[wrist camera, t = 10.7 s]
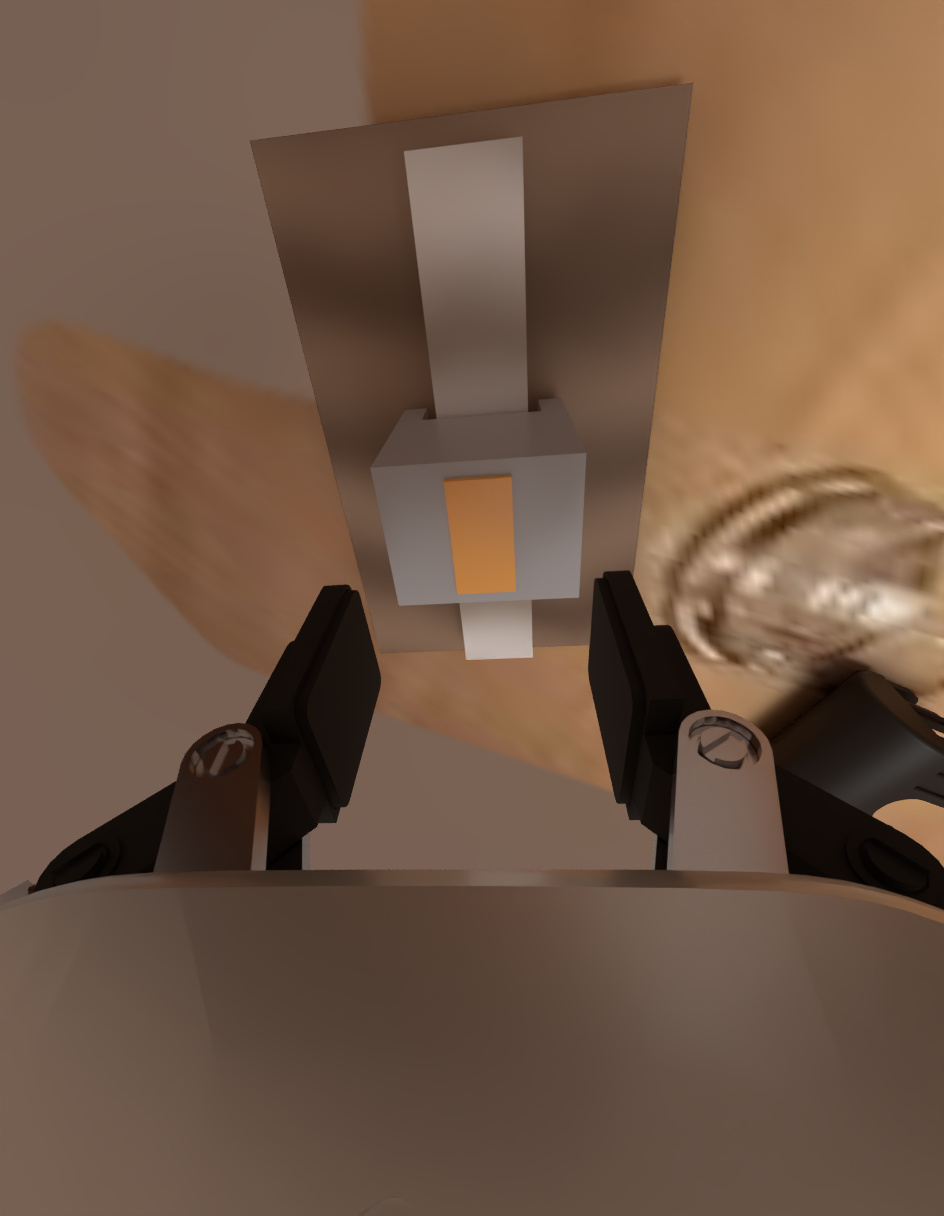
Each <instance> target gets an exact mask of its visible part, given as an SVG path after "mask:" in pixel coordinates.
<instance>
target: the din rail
mask: <svg viewBox="0 0 944 1216" xmlns="http://www.w3.org/2000/svg"><path fill="white" fill-rule="evenodd" d="M692 87H693V83H687V84H679V85H672V86H664V87H656V88H649V89H641V90H634V91H626V92H618V93H611V94H603V95H595V96H588V97H580V98H573V99H565V100H557V101H550V102H542V103H534V104H527V105H519V106H511V107H504V108H496V109H489V110H481V111H473V112H466V113H458V114H450V115H443V116H435V117H428V118H420V119H412V120H405V121H397V122H389V123H382V124H374V125H366V126H359V127H352V128H344V129H336V130H329V131H321V132H313V133H306V134H298V135H290V136H283V137H275V138H267V139H260V140H252V141H250V143H251V147H252V151H253V155H254V159H255V163H256V166H257V171H258V175H259V179H260V183H261V186H262V190H263V194H264V198H265V202H266V206H267V210H268V214H269V218H270V222H271V226H272V230H273V233H274V238H275V242H276V245H277V249H278V253H279V257H280V261H281V264H282V269H283V273H284V276H285V280H286V285H287V288H288V293H289V297H290V300H291V304H292V308H293V312H294V316H295V320H296V324H297V328H298V332H299V336H300V340H301V344H302V347H303V352H304V355H305V359H306V363H307V367H308V371H309V375H310V379H311V383H312V387H313V391H314V395H315V399H316V403H317V407H318V410H319V414H320V418H321V422H322V426H323V430H324V434H325V438H326V442H327V446H328V450H329V454H330V458H331V462H332V465H333V469H334V473H335V477H336V481H337V485H338V489H339V493H340V497H341V501H342V505H343V509H344V513H345V517H346V520H347V524H348V528H349V532H350V536H351V540H352V544H353V548H354V552H355V556H356V560H357V564H358V568H359V571H360V575H361V579H362V583H363V587H364V591H365V595H366V599H367V603H368V607H369V611H370V615H371V619H372V623H373V626H374V630H375V634H376V638H377V642H378V646H379V650H380V653H400V652H425V651H451V650H465V653H466V660H475V659H502V658H528V657H533V648H532V647H552V646H578V645H590V633H591V618H592V604H593V589H594V580H595V578H602V577H603V573H604V571H623V570H629V571H630V572H631V574H632V576H633V573H634V565H635V557H636V549H637V540H638V532H639V524H640V516H641V507H642V499H643V491H644V483H645V475H646V466H647V458H648V450H649V442H650V433H651V425H652V417H653V409H654V400H655V392H656V384H657V376H658V367H659V359H660V351H661V343H662V334H663V326H664V318H665V310H666V302H667V293H668V285H669V277H670V269H671V260H672V252H673V244H674V236H675V227H676V219H677V211H678V203H679V194H680V186H681V178H682V170H683V161H684V153H685V145H686V137H687V129H688V120H689V112H690V104H691V96H692ZM552 398H561V399H562V401H563V403H564V405H565V408H566V410H567V412H568V414H569V416H570V418H571V421H572V423H573V425H574V427H575V429H576V431H577V434H578V436H579V438H580V440H581V442H582V444H583V447H584V449H585V451H586V470H585V490H584V509H583V529H582V548H581V568H580V587H579V598H559V599H537V600H515V601H493V602H471V603H448V604H426V605H404V606H399V604H398V599H397V594H396V589H395V585H394V580H393V575H392V570H391V565H390V561H389V556H388V551H387V546H386V541H385V536H384V532H383V527H382V522H381V517H380V512H379V507H378V503H377V498H376V493H375V488H374V483H373V479H372V474H371V469H370V467H371V466H372V464H373V463H374V461H375V459H376V458H377V456H378V454H379V453H380V451H381V449H382V448H383V446H384V444H385V443H386V441H387V439H388V438H389V436H390V434H391V433H392V431H393V429H394V428H395V426H396V424H397V423H398V421H399V419H400V418H401V416H402V414H403V413H404V411H405V410H411V409H424V408H427V413H428V420H430V419H443V418H456V417H469V416H482V415H495V414H508V413H522V412H535V411H538V400H539V399H552Z"/></svg>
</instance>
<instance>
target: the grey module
mask: <svg viewBox="0 0 944 1216" xmlns="http://www.w3.org/2000/svg"><path fill="white" fill-rule="evenodd" d="M370 469H371V474H372V479H373V483H374V488H375V493H376V498H377V503H378V507H379V512H380V517H381V522H382V527H383V532H384V536H385V541H386V546H387V551H388V556H389V561H390V565H391V570H392V575H393V580H394V585H395V589H396V594H397V599H398V604H399V606H404V605H426V604H448V603H471V602H493V601H515V600H537V599H559V598H579V587H580V568H581V548H582V529H583V509H584V490H585V470H586V451H585V449H584V447H583V444H582V442H581V440H580V438H579V436H578V434H577V431H576V429H575V427H574V425H573V423H572V421H571V418H570V416H569V414H568V412H567V410H566V408H565V405H564V403H563V401H562V399H561V398H552V399H539V400H538V411H535V412H522V413H508V414H495V415H482V416H469V417H456V418H443V419H430V420H428V413H427V408H424V409H411V410H405V411H404V413H403V414H402V416H401V418H400V419H399V421H398V423H397V424H396V426H395V428H394V429H393V431H392V433H391V434H390V436H389V438H388V439H387V441H386V443H385V444H384V446H383V448H382V449H381V451H380V453H379V454H378V456H377V458H376V459H375V461H374V463H373V464H372V466H371V467H370Z"/></svg>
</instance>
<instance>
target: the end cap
mask: <svg viewBox="0 0 944 1216" xmlns="http://www.w3.org/2000/svg"><path fill="white" fill-rule="evenodd" d="M917 702H918V698H917V697H916V696H915V695H914V694H913V693H912V692H911V691H910V690H909V689H907V688H904V687H902V686H900V685H897V684H895V683H892V682H890V681H888V680H886V679H885V678H884V677H883V676H882V675H880V674H877V673H874V672H870V671H861V670H860V671H858V672H856V673H854V674H853V675H852V676H851V677H849V678H848V679H847V680H846V681H844V682H843V683H842V684H841V685H839V686H838V687H837V688H836V689H835V690H833V691H832V692H831V693H830V694H828V695H827V696H826V697H825V698H823V699H822V700H821V701H820V702H818V703H817V704H816V705H815V706H814V707H812V708H811V709H810V710H809V711H807V712H806V713H805V714H804V715H802V716H801V717H800V718H799V719H797V720H796V721H795V722H794V723H793V724H791V725H790V726H789V727H788V728H786V729H785V730H784V731H783V732H781V733H780V734H779V735H778V736H776V737H775V738H774V739H773V740H771V741H770V742H769V743H770V746H771V749H772V751H773V759H774V764H776V765H778V766H780V767H782V768H784V769H786V770H787V771H789V772H791V773H793V774H795V775H797V776H798V777H800V778H802V779H804V780H806V781H808V782H809V783H811V784H813V785H815V786H817V787H819V788H821V789H822V790H824V791H826V792H828V793H830V794H832V795H833V796H835V797H837V798H839V799H841V800H843V801H844V802H846V803H848V804H850V805H852V806H854V807H856V808H857V809H859V810H861V811H863V812H865V813H867V814H868V815H870V816H872V815H873V814H874V813H875V812H876V811H877V810H878V809H880V808H882V807H883V806H885V805H887V804H889V803H892V802H895V801H899V800H905V799H919V800H923V801H926V802H929V803H932V804H934V805H937V806H940V807H943V808H944V738H943V737H940V736H938V735H937V734H936V733H935V732H934V731H933V730H932V729H934V730H936V731H939V732H941V733H944V718H942V717H940V716H939V715H937V714H936V713H934V712H932V711H929V710H927V709H925V708H922V707H920V706H917V705H915V704H916V703H917ZM889 826H890V825H889ZM891 827H892V826H891ZM892 828H893V827H892Z"/></svg>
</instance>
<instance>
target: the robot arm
mask: <svg viewBox="0 0 944 1216" xmlns="http://www.w3.org/2000/svg"><path fill="white" fill-rule="evenodd" d="M588 673H589V681H590V686H591V690H592V695H593V700H594V704H595V709H596V713H597V718H598V722H599V727H600V731H601V736H602V741H603V745H604V750H605V754H606V759H607V763H608V768H609V773H610V777H611V782H612V786H613V791H614V795H615V799H616V802H617V803H618V804H626V807H627V812H628V816H629V820H640V821H641V824H642V825H644V826H645V827H647V828H648V829H649V830H651V831H652V832H653V833H655V839H654V851H653V864H652V870H539V869H536V870H532V869H531V870H530V869H525V870H524V869H519V870H518V869H516V870H515V869H506V870H505V869H500V870H499V869H495V870H494V869H492V870H491V869H490V870H489V869H485V870H484V869H481V870H480V869H479V870H476V869H475V870H474V869H471V870H470V869H467V870H465V869H464V870H463V869H462V870H310V834H309V832H310V831H312V830H313V829H314V828H316V827H317V825H318V823H336V822H337V818H338V815H339V811H340V808H341V807H346V806H347V805H348V803H349V801H350V797H351V793H352V790H353V786H354V782H355V779H356V775H357V771H358V768H359V764H360V760H361V757H362V753H363V749H364V746H365V742H366V738H367V734H368V731H369V727H370V723H371V720H372V716H373V712H374V709H375V705H376V701H377V698H378V694H379V690H380V686H381V675H380V670H379V666H378V663H377V659H376V655H375V651H374V647H373V644H372V640H371V636H370V632H369V628H368V625H367V621H366V617H365V613H364V609H363V606H362V602H361V598H360V595H359V592H358V591H357V590H351V588H350V586H349V585H332V586H324V587H323V588H322V590H321V591H320V593H319V595H318V597H317V599H316V601H315V603H314V605H313V607H312V608H311V610H310V612H309V614H308V616H307V618H306V620H305V622H304V624H303V625H302V627H301V629H300V631H299V633H298V635H297V637H296V639H295V641H292V642H290V643H289V644H288V646H287V647H286V649H285V651H284V653H283V655H282V656H281V658H280V660H279V662H278V664H277V666H276V667H275V669H274V671H273V673H272V675H271V677H270V679H269V680H268V682H267V684H266V686H265V688H264V690H263V692H262V694H261V695H260V697H259V699H258V701H257V703H256V705H255V706H254V708H253V710H252V712H251V714H250V716H249V718H248V719H247V721H246V723H234V724H227V725H225V726H221V727H219V728H216V729H214V730H212V731H210V732H209V733H207V734H205V735H203V736H202V737H201V738H200V739H198V740H197V741H196V742H195V743H194V744H193V745H192V746H191V747H190V748H189V750H188V751H187V752H186V753H185V755H184V758H183V760H182V762H181V765H180V769H179V773H178V777H177V781H175V782H174V783H172V784H171V785H169V786H167V787H165V788H164V789H162V790H161V791H159V792H157V793H155V794H154V795H152V796H150V797H149V798H147V799H146V800H144V801H142V802H140V803H139V804H137V805H135V806H134V807H132V808H130V809H129V810H127V811H125V812H124V813H122V814H120V815H119V816H117V817H115V818H114V819H112V820H110V821H109V822H107V823H105V824H104V825H102V826H100V827H99V828H97V829H95V830H94V831H92V832H90V833H89V834H87V835H85V836H84V837H82V838H80V839H78V840H77V841H75V842H74V843H73V844H71V845H70V846H68V847H67V848H66V849H64V850H63V851H62V852H61V853H60V854H59V855H58V856H57V857H56V858H55V859H53V860H52V861H51V862H50V864H49V865H48V866H47V868H46V869H45V870H44V872H43V873H42V874H41V876H40V877H39V880H38V882H37V883H36V884H32V883H31V882H30V881H29V880H27V881H25V882H23V883H21V884H20V885H18V886H16V887H14V888H12V889H10V890H9V891H7V892H5V893H3V894H2V895H0V1216H944V868H943V866H942V865H941V864H940V862H939V861H938V860H937V859H936V858H935V857H934V856H933V855H932V854H931V853H930V852H929V851H927V850H926V849H925V848H924V847H923V846H922V845H920V844H919V843H917V842H916V841H914V840H913V839H911V838H910V837H908V836H907V835H905V834H903V833H902V832H900V831H898V830H896V829H894V828H892V827H891V826H889V825H887V824H885V823H883V822H881V821H879V820H878V819H876V818H874V817H872V816H870V815H868V814H867V813H865V812H863V811H861V810H859V809H857V808H856V807H854V806H852V805H850V804H848V803H846V802H844V801H843V800H841V799H839V798H837V797H835V796H833V795H832V794H830V793H828V792H826V791H824V790H822V789H821V788H819V787H817V786H815V785H813V784H811V783H809V782H808V781H806V780H804V779H802V778H800V777H798V776H797V775H795V774H793V773H791V772H789V771H787V770H786V769H784V768H782V767H780V766H778V765H776V764H774V759H773V751H772V749H771V746H770V743H769V740H768V739H767V738H766V736H765V735H764V734H763V732H762V731H761V730H760V729H759V728H757V727H756V726H755V725H754V724H752V723H751V722H750V721H748V720H746V719H744V718H742V717H740V716H738V715H736V714H732V713H729V712H726V711H720V710H711V708H710V706H709V704H708V702H707V700H706V698H705V696H704V694H703V691H702V689H701V687H700V685H699V683H698V681H697V679H696V677H695V675H694V673H693V670H692V668H691V666H690V664H689V662H688V660H687V658H686V656H685V654H684V651H683V649H682V647H681V645H680V643H679V641H678V639H677V637H676V635H675V633H674V631H673V629H672V628H671V626H669V625H656V626H654V625H653V623H652V621H651V618H650V616H649V614H648V611H647V609H646V607H645V604H644V602H643V600H642V597H641V595H640V593H639V590H638V588H637V586H636V583H635V581H634V579H633V576H632V574H631V572H630V571H629V570H623V571H604V573H603V577H602V578H595V580H594V589H593V604H592V618H591V633H590V648H589V663H588Z"/></svg>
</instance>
